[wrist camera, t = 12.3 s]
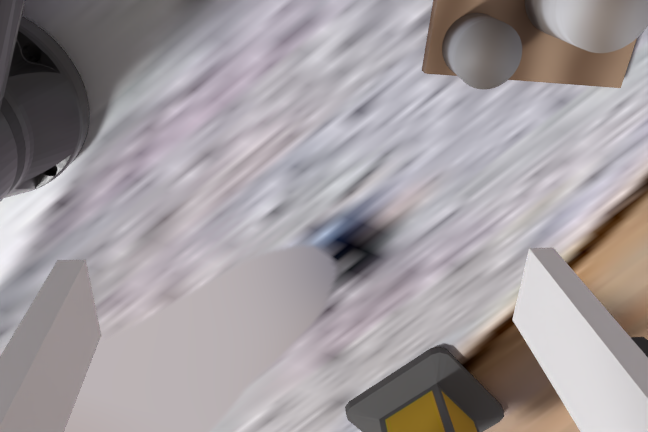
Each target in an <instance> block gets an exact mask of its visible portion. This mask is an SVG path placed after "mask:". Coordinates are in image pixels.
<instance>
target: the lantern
mask: <svg viewBox="0 0 648 432" xmlns="http://www.w3.org/2000/svg"><path fill="white" fill-rule="evenodd" d="M345 408H346V415H347V418H348V420H349V421H350V422H351V423H353V424H354V425H355V426H356V427H357V428H359V429H360V430H361V431H362V432H483V431H485V430H486V429H488V428H490V427H491V426H493V425H495V424H496V423H498V422H500V420H501V419H502V418H503V417H504V412H503V409H502V406H501V404H500V403H499V402H498V401H497V400H496V399H495V398H494V397H493V396H492V395H491V394H490V393H489V392H488V391H487V390H486V389H485V388H484V387H483V386H482V385H481V384H480V383H479V382H478V381H477V380H476V379H475V378H474V377H473V376H472V375H471V374H470V373H469V372H468V371H467V370H466V369H465V368H464V367H463V366H462V365H461V364H460V363H459V362H458V361H457V360H456V359H455V357H454V356H453V355H452V354H451V353H450V352H449V351H448V350H447V349H444V348H441V347H435V348H431V349H429V350H427V351H426V352H424V353H423V354H421V355H420V356H418V357H417V358H415V359H414V360H412V361H411V362H409V363H408V364H406V365H405V366H403V367H401V368H400V369H398V370H397V371H395V372H394V373H392V374H391V375H389V376H388V377H386V378H385V379H383V380H382V381H380V382H379V383H377V384H376V385H374V386H372V387H371V388H369V389H368V390H366V391H365V392H363V393H362V394H360V395H359V396H357V397H356V398H354V399H353V400H351V401H350V402H349V403H348V404H347V405H346V407H345Z"/></svg>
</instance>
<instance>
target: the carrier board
mask: <svg viewBox="0 0 648 432" xmlns="http://www.w3.org/2000/svg"><path fill="white" fill-rule="evenodd" d="M647 26H648V0H433V6H432V12H431V18H430V24H429V30H428V36H427V42H426V48H425V54H424V60H423V66H422V71H423V72H424V73H427V74H440V75H454V76H458V77H460V78H461V79H462V80H463V81H464V82H465V83H466V84H468V85H469V86H471V87H474V88H477V89H491V88H495V87H497V86H499V85H501V84H503V83H504V82H506V81H507V80H521V81H534V82H547V83H561V84H574V85H587V86H601V87H614V88H621V85H622V82H623V79H624V76H625V73H626V70H627V67H628V64H629V61H630V58H631V55H632V52H633V49H634V46H635V43H636V40H637V38H638V37H639V36H640V35H641V34H642V33H643V31H644V30H645V29H646V28H647Z"/></svg>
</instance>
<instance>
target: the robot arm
mask: <svg viewBox="0 0 648 432" xmlns="http://www.w3.org/2000/svg"><path fill="white" fill-rule="evenodd" d="M24 3H25V0H0V201H1V200H2V199H3V198H6V197H10V196H14V195H17V194H21V193H25V192H28V191H32V190H35V189H37V188H39V187H42V186H44V185H45V184H47V183H49V182H50V181H52V180H53V179H55V178H56V177H57V176H59V175H60V174H61V173H62V172H63V171H64V170H65V169H66V168H67V167H68V166H69V164H70V163H71V162H72V161H73V160H74V159H75V157H76V156H77V155H78V153H79V152H80V150H81V148H82V146H83V144H84V141H85V139H86V135H87V131H88V126H89V105H88V99H87V95H86V91H85V88H84V85H83V82H82V80H81V77H80V75H79V73H78V71H77V69H76V68H75V66H74V64H73V63H72V61H71V60H70V58H69V57H68V55H67V54H66V53H65V52H64V50H63V49H62V48H61V47H60V46H59V45H58V44H57V43H56V41H55V40H53V39H52V38H51V37H50V36H49V35H48V34H47V33H46V32H44V31H43V30H42V29H41V28H39V27H38V26H36V25H35V24H33V23H32V22H30V21H29V20H27V19H25V18H23V17H22V12H23V7H24ZM512 320H513V321H514V323H515V325H516V326H517V328H518V330H519V331H520V333H521V335H522V336H523V338H524V339H525V341H526V343H527V344H528V346H529V348H530V349H531V351H532V353H533V354H534V356H535V358H536V359H537V361H538V363H539V364H540V366H541V367H542V369H543V371H544V372H545V374H546V376H547V377H548V379H549V381H550V382H551V384H552V386H553V387H554V389H555V390H556V392H557V394H558V395H559V397H560V399H561V400H562V402H563V404H564V405H565V407H566V409H567V410H568V412H569V413H570V415H571V417H572V418H573V420H574V422H575V423H576V425H577V427H578V428H579V430H580V432H648V340H647V339H645V338H644V337H632V338H631V337H630V336H629V335H628V334H627V333H626V332H625V331H624V329H623V328H622V327H621V326H620V325H619V324H618V322H617V321H616V320H615V319H614V318H613V317H612V315H611V314H610V313H609V312H608V311H607V310H606V308H605V307H604V306H603V305H602V304H601V303H600V301H599V300H598V299H597V298H596V297H595V296H594V295H593V293H592V292H591V291H590V290H589V289H588V288H587V286H586V285H585V284H584V283H583V282H582V281H581V279H580V278H579V277H578V276H577V275H576V274H575V272H574V271H573V270H572V269H571V268H570V267H569V265H568V264H567V263H566V262H565V261H564V260H563V259H562V257H561V256H560V255H559V254H558V253H557V252H556V250H555V249H554V248H529V252H528V256H527V260H526V265H525V269H524V273H523V277H522V281H521V286H520V290H519V294H518V298H517V303H516V307H515V311H514V315H513V319H512ZM100 337H101V332H100V327H99V322H98V317H97V313H96V308H95V303H94V298H93V293H92V288H91V283H90V278H89V274H88V269H87V264H86V260H58V261H57V262H56V264H55V266H54V267H53V269H52V271H51V272H50V274H49V276H48V277H47V279H46V281H45V282H44V284H43V286H42V287H41V289H40V291H39V292H38V294H37V296H36V297H35V299H34V301H33V303H32V304H31V306H30V308H29V309H28V311H27V313H26V314H25V316H24V318H23V319H22V321H21V323H20V324H19V326H18V328H17V329H16V331H15V333H14V334H13V336H12V338H11V339H10V341H9V343H8V344H7V346H6V348H5V349H4V351H3V353H2V355H1V356H0V432H64V430H65V427H66V425H67V422H68V420H69V417H70V414H71V412H72V409H73V406H74V404H75V402H76V399H77V396H78V394H79V391H80V388H81V386H82V383H83V381H84V378H85V376H86V373H87V370H88V368H89V365H90V363H91V360H92V358H93V355H94V353H95V350H96V347H97V345H98V342H99V340H100Z"/></svg>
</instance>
